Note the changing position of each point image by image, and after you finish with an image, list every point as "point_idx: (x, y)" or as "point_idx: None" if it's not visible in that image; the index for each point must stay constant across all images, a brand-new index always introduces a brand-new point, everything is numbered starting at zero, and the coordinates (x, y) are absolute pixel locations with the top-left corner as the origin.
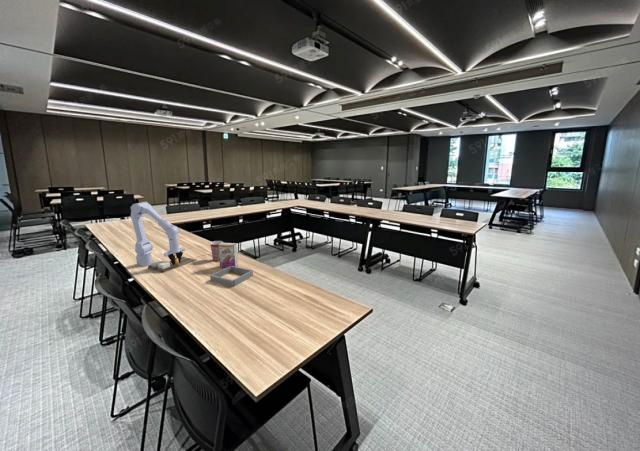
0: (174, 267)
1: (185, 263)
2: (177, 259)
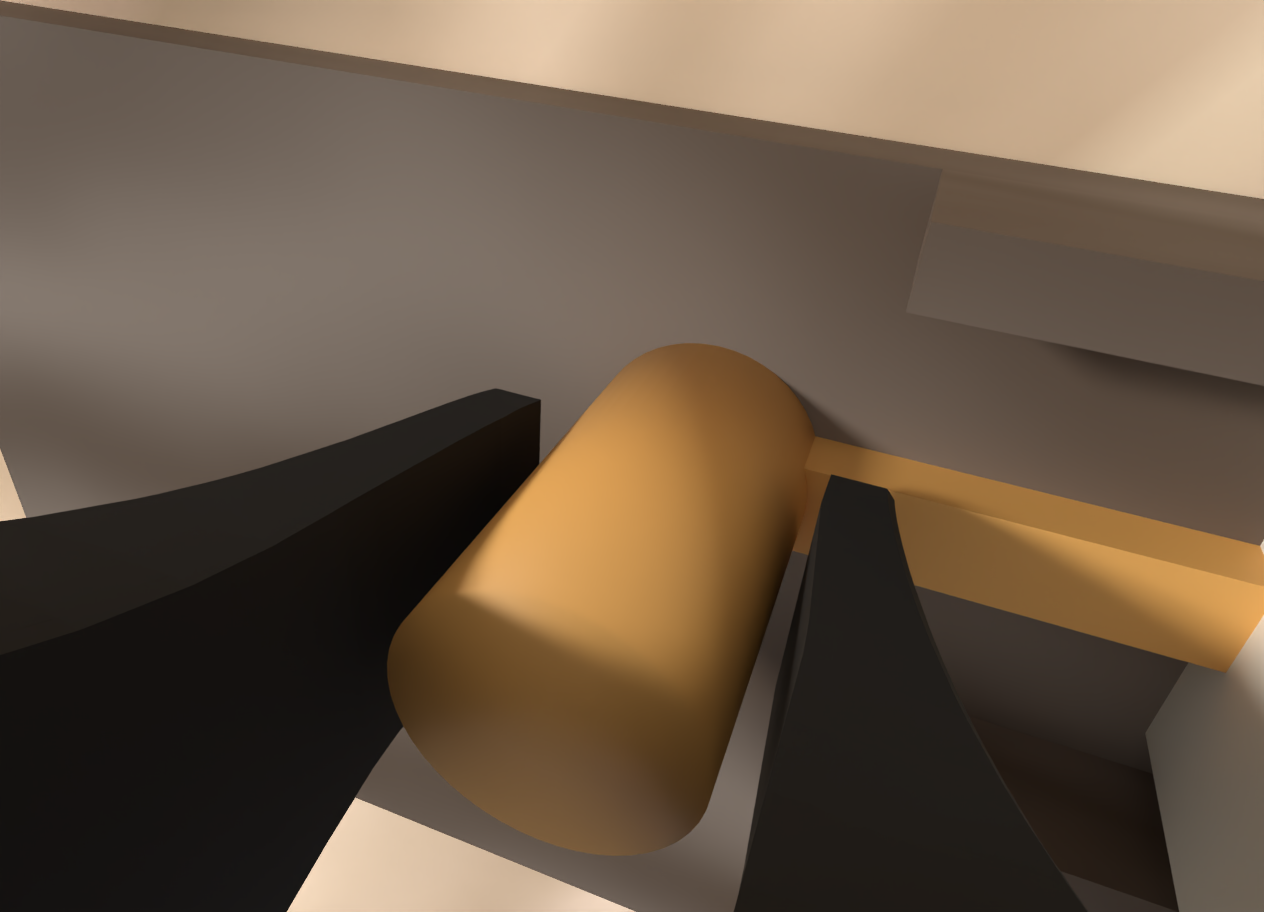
0: (1229, 232)
1: (352, 191)
2: (559, 553)
